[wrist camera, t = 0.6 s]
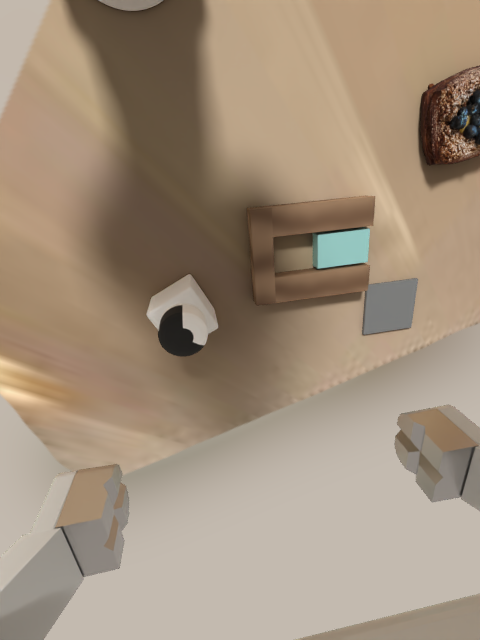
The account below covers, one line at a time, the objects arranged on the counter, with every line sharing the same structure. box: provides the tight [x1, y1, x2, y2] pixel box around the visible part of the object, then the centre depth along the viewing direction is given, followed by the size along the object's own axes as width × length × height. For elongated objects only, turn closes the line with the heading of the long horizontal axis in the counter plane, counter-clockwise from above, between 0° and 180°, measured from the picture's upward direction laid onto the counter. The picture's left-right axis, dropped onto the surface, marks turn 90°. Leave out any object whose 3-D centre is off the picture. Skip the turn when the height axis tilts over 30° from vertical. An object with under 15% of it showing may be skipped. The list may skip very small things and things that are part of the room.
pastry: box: [420, 66, 480, 165], centre depth 44 cm, size 11×12×6 cm
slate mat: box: [362, 278, 418, 335], centre depth 56 cm, size 9×9×1 cm
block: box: [313, 227, 370, 269], centre depth 50 cm, size 5×8×2 cm, turn 96°
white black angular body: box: [147, 274, 218, 356], centre depth 45 cm, size 7×7×12 cm
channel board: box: [247, 196, 375, 306], centre depth 49 cm, size 14×18×2 cm
